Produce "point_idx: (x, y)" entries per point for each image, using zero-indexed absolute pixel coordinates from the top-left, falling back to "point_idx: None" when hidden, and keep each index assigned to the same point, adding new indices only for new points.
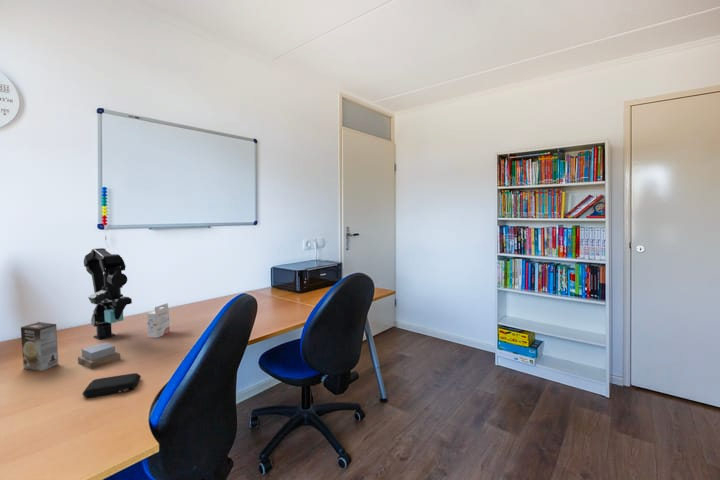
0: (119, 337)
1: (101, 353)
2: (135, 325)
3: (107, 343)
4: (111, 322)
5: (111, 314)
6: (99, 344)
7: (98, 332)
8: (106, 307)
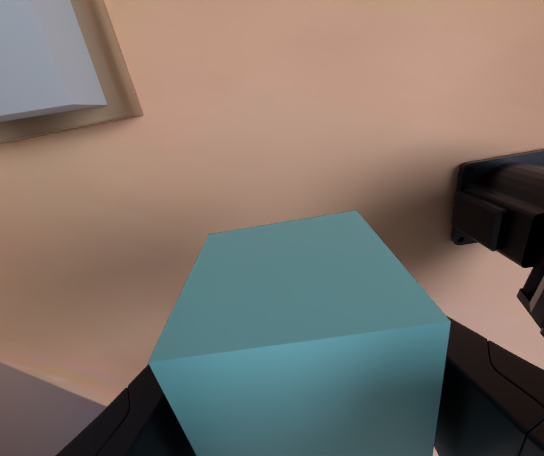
0: (396, 245)
1: None
2: (512, 344)
3: (22, 107)
4: (207, 245)
5: (176, 326)
6: (29, 46)
7: (527, 173)
8: (517, 425)
